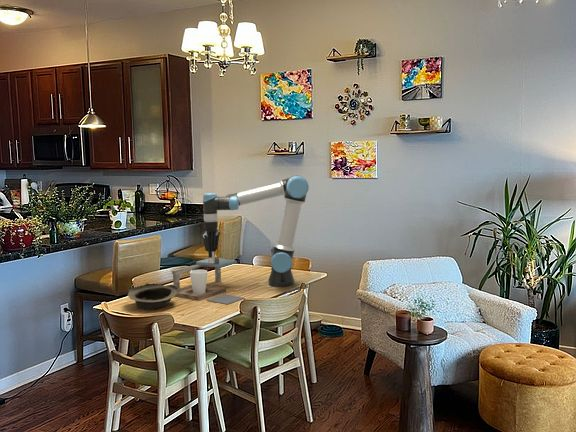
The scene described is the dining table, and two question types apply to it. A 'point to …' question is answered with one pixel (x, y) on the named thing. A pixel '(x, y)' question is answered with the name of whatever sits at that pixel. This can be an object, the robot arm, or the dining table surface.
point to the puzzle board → (187, 291)
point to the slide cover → (217, 262)
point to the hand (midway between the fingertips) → (212, 263)
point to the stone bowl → (152, 295)
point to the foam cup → (198, 281)
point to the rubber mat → (225, 299)
